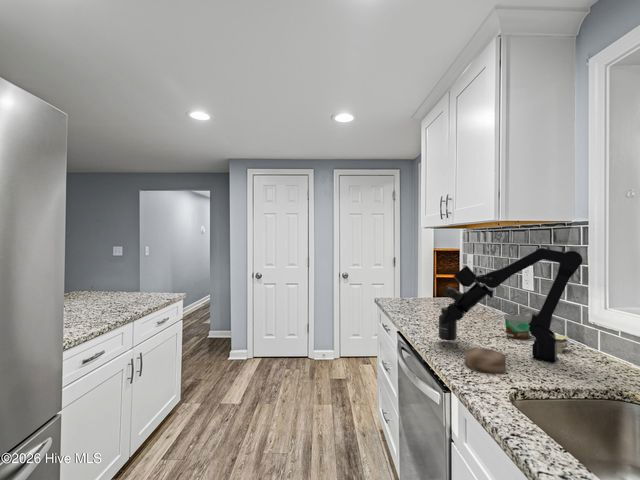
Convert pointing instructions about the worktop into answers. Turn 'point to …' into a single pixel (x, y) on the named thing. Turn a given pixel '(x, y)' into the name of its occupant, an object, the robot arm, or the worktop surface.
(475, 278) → the robot arm
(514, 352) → the worktop surface
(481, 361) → the walnut plinth
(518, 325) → the food container
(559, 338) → the stacked layers on plate
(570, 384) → the worktop surface
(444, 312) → the supplement bottle
